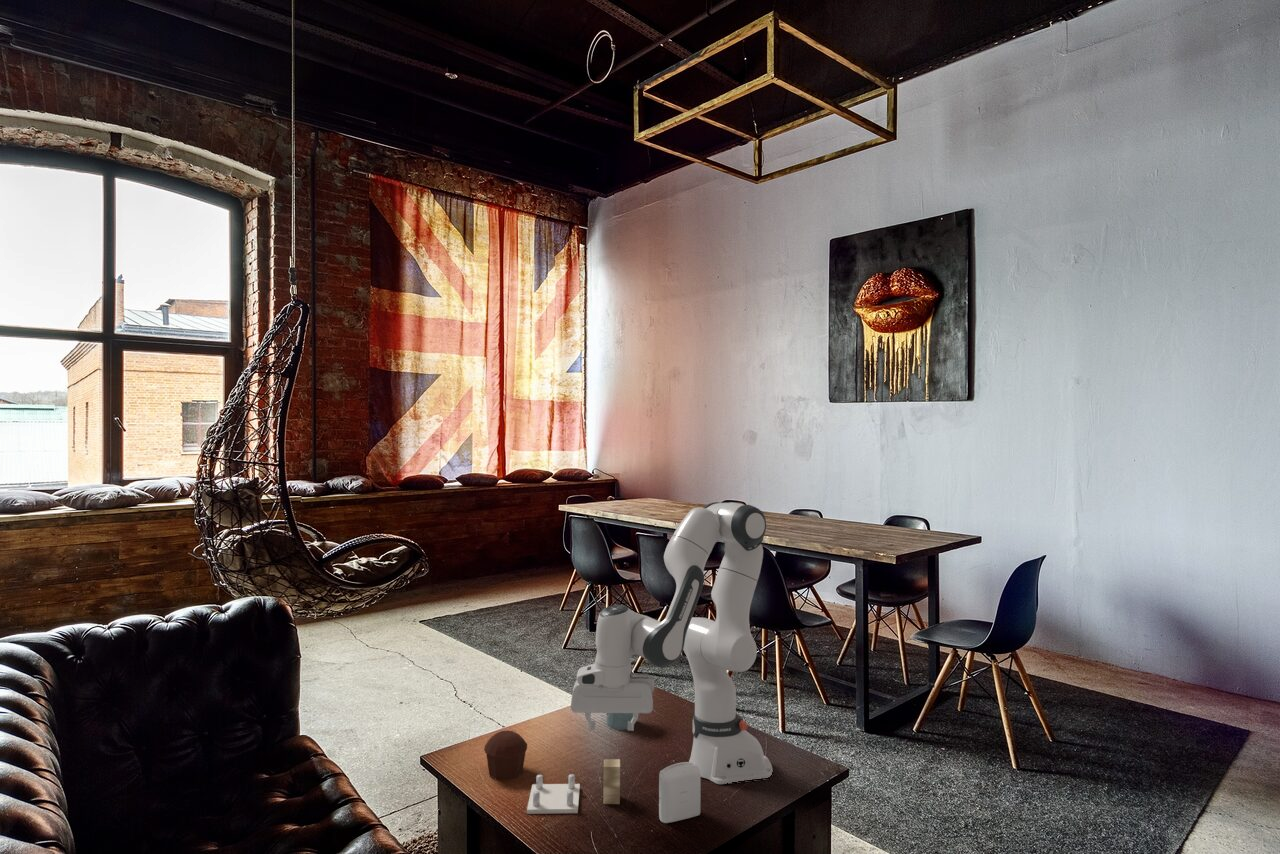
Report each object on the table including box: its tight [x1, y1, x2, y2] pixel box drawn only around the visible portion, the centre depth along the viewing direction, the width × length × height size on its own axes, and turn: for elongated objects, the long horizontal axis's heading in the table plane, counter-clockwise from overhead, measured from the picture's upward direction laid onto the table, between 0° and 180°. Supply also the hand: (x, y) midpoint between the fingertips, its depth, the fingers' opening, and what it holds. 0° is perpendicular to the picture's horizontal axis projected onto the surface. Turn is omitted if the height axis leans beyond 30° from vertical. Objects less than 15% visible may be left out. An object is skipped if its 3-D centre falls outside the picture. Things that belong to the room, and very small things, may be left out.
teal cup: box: [606, 713, 636, 731], centre depth 218 cm, size 10×10×12 cm
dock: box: [526, 773, 581, 815], centre depth 173 cm, size 12×12×4 cm
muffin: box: [483, 730, 528, 781], centre depth 187 cm, size 12×11×10 cm
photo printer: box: [658, 761, 702, 824], centre depth 166 cm, size 10×4×12 cm, turn 114°
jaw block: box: [602, 758, 621, 805], centre depth 173 cm, size 4×4×9 cm
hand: (611, 729), depth 173 cm, fingers open, 8 cm apart
